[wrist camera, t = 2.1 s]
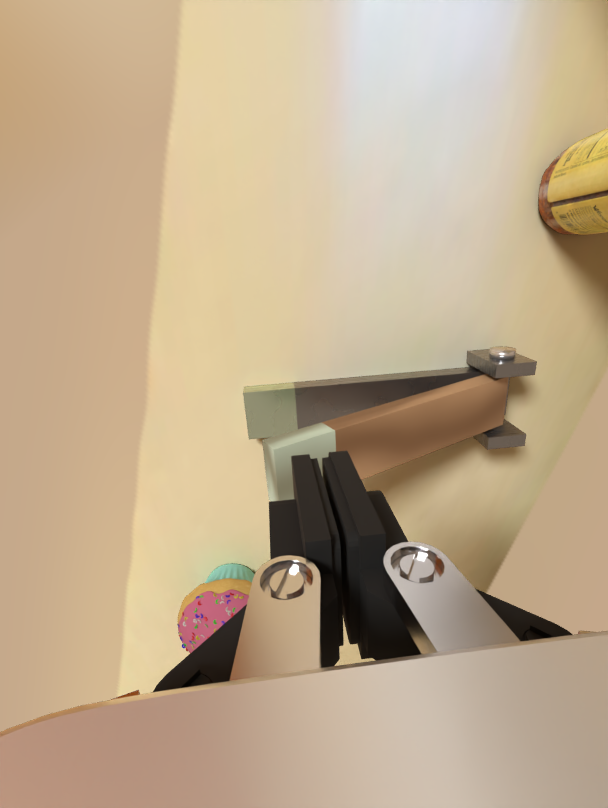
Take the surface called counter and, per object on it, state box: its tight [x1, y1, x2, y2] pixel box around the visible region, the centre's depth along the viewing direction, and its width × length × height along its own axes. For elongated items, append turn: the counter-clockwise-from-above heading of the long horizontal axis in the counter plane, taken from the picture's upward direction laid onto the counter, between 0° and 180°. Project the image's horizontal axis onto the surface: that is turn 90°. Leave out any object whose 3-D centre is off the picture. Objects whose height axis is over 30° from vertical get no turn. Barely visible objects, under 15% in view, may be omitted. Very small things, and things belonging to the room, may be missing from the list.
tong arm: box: [262, 374, 509, 501], centre depth 27 cm, size 4×20×2 cm, turn 94°
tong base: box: [243, 346, 537, 450], centre depth 32 cm, size 8×22×4 cm, turn 94°
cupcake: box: [177, 564, 255, 654], centre depth 34 cm, size 9×8×12 cm
